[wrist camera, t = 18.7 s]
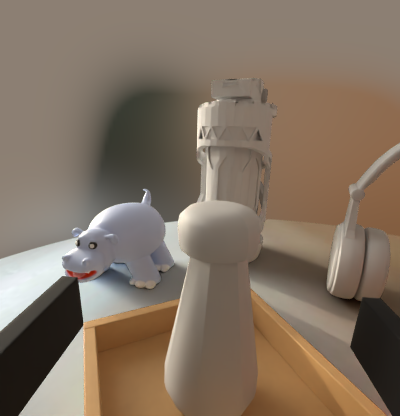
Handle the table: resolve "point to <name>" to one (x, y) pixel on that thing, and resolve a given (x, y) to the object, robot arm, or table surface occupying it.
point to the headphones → (360, 244)
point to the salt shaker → (214, 312)
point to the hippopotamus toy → (122, 244)
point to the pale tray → (156, 355)
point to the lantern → (236, 145)
